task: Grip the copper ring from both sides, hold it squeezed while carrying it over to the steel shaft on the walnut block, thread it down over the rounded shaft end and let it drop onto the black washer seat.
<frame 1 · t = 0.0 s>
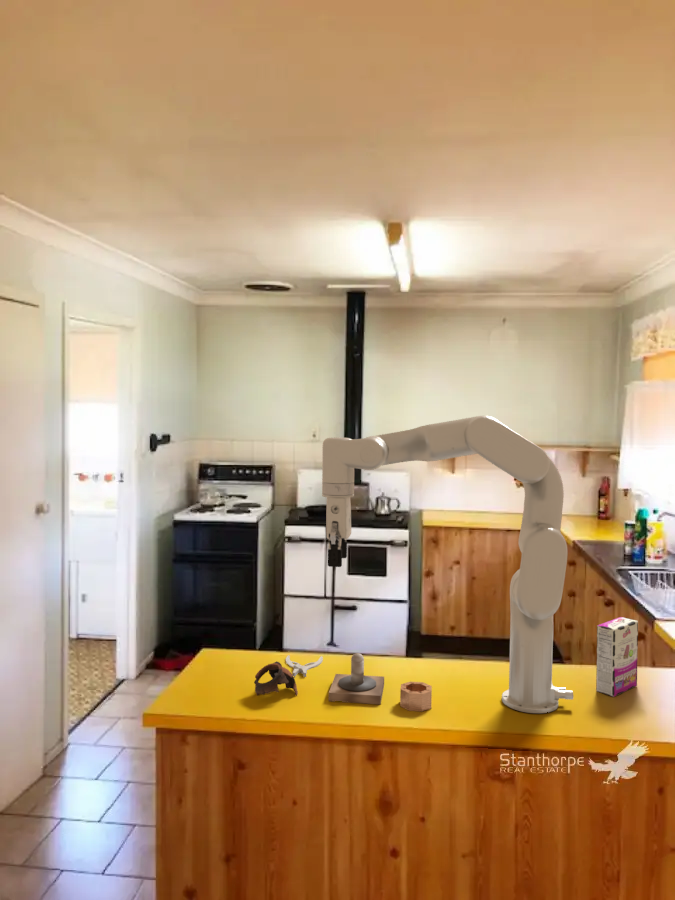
hand: (337, 562, 170), 31 cm above the worktop, tool pointing down, fingers open, 9 cm apart
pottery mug: (276, 694, 171), on the worktop
ring: (415, 704, 165), on the worktop
pliers: (302, 669, 189), on the worktop
candy bar box: (616, 689, 175), on the worktop
shaft block: (357, 692, 172), on the worktop
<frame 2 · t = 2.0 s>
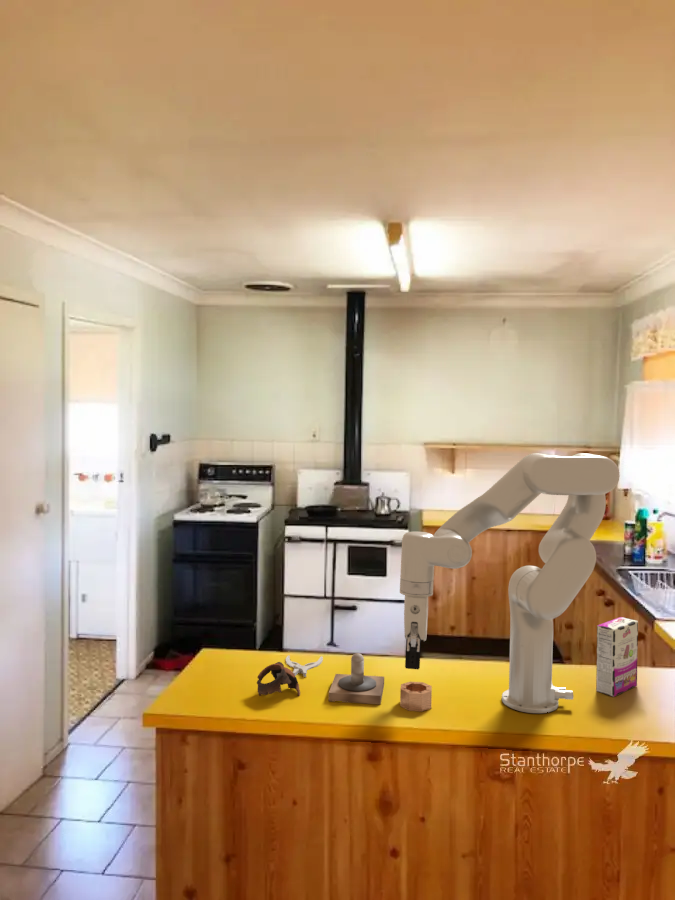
hand: (412, 661, 164), 10 cm above the worktop, tool pointing down, fingers open, 9 cm apart
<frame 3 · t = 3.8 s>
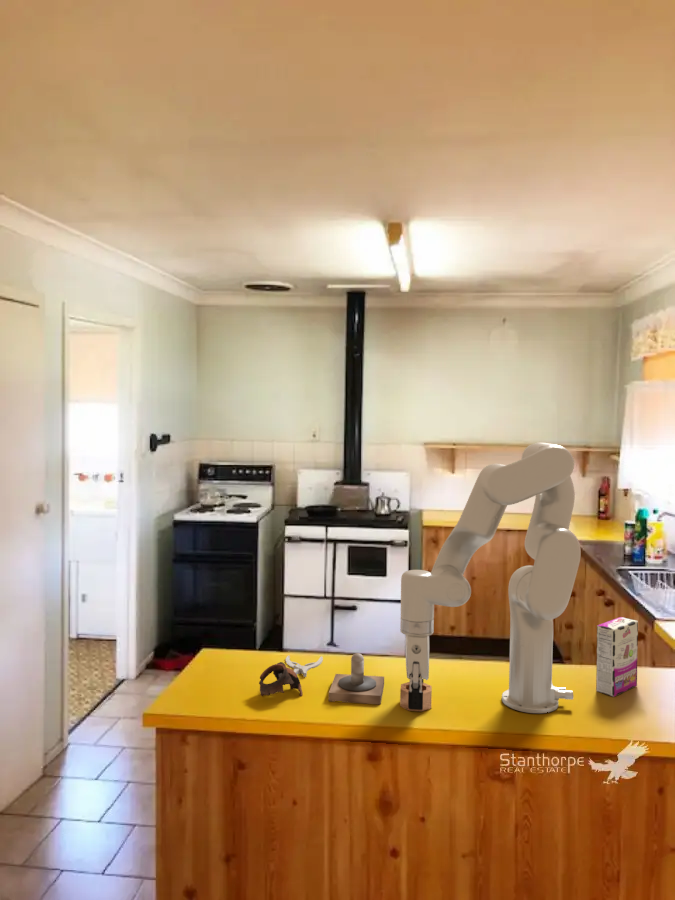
hand: (415, 701, 165), 1 cm above the worktop, tool pointing down, fingers closed on ring, 7 cm apart
ring: (415, 704, 165), on the worktop, touching gripper
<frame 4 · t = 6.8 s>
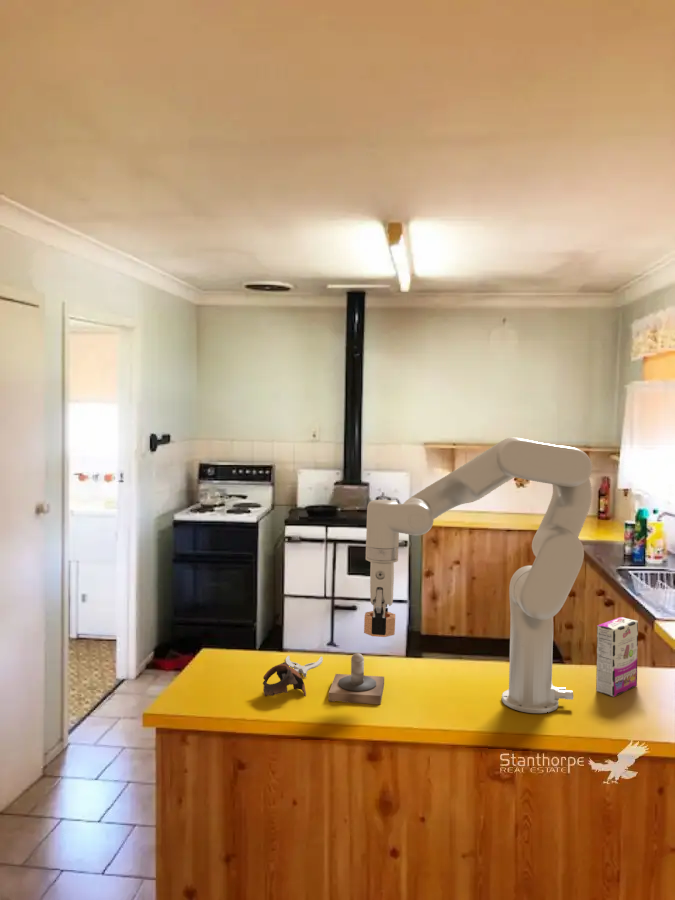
hand: (379, 628, 168), 16 cm above the worktop, tool pointing down, fingers closed on ring, 7 cm apart
ring: (379, 631, 168), point 16 cm above the worktop, touching gripper
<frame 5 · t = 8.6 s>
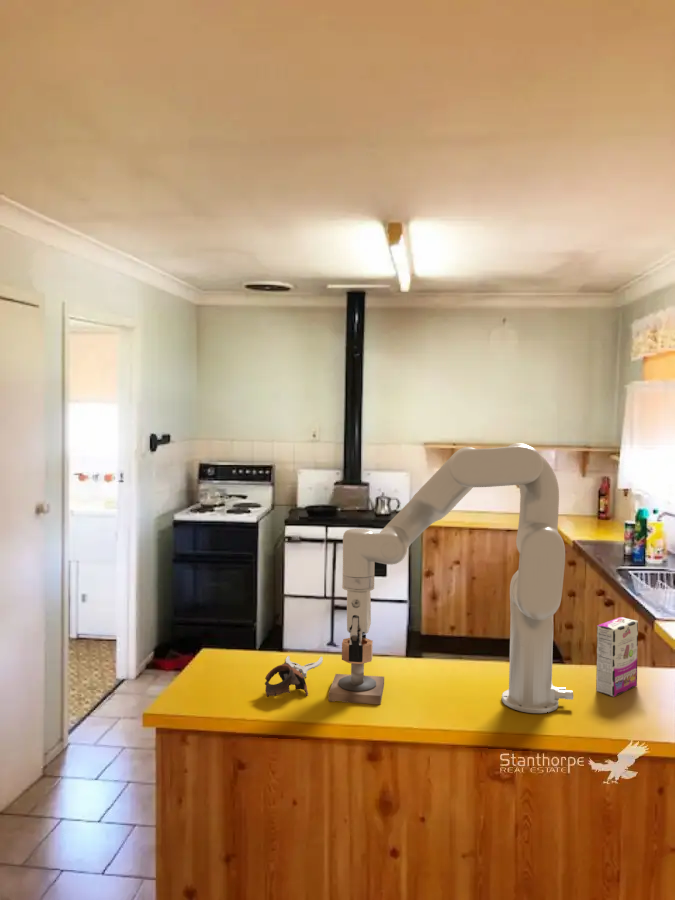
hand: (357, 655, 171), 9 cm above the worktop, tool pointing down, fingers closed on ring, 7 cm apart
ring: (357, 658, 171), point 8 cm above the worktop, touching gripper
when the fingers open (5 cm above the worktop, at t = 10.2 s): ring drops 1 cm, resting on shaft block.
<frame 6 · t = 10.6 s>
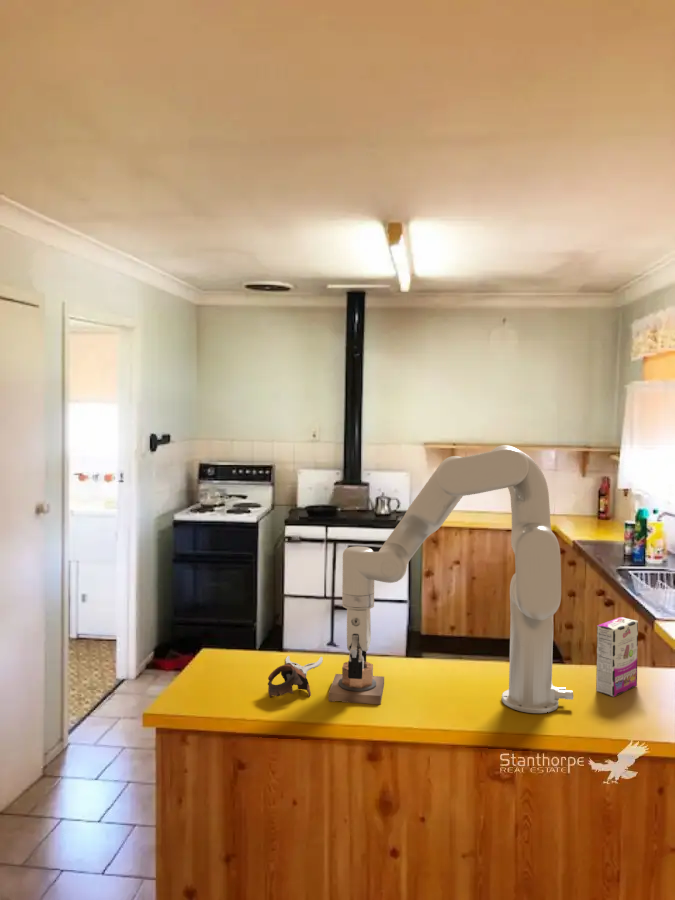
hand: (357, 670, 171), 5 cm above the worktop, tool pointing down, fingers open, 9 cm apart
ring: (357, 682, 171), point 2 cm above the worktop, touching shaft block
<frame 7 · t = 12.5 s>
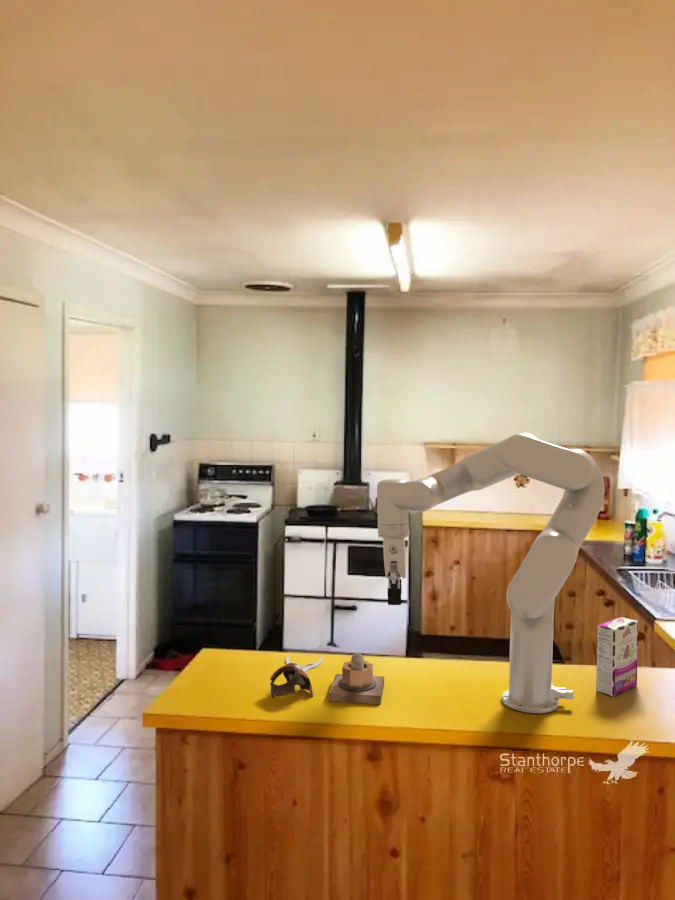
hand: (394, 599, 177), 21 cm above the worktop, tool pointing down, fingers open, 9 cm apart
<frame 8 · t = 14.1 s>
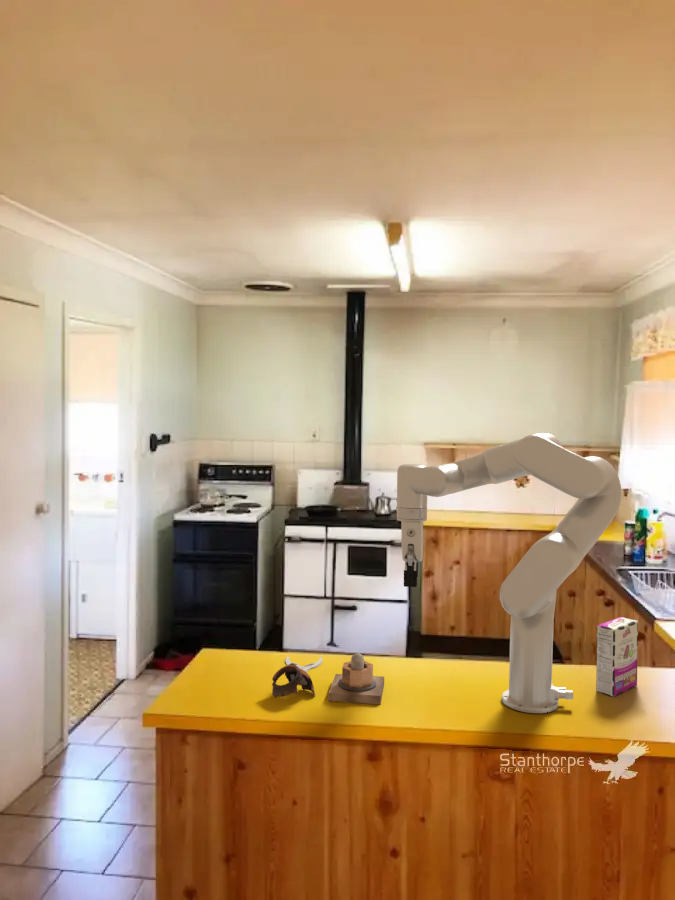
hand: (410, 581, 180), 24 cm above the worktop, tool pointing down, fingers open, 9 cm apart
at the end: ring 0.1 cm off-centre on the shaft block, point 2.5 cm above the shaft block's base; ring tilted 0°; the gripper is holding nothing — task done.
